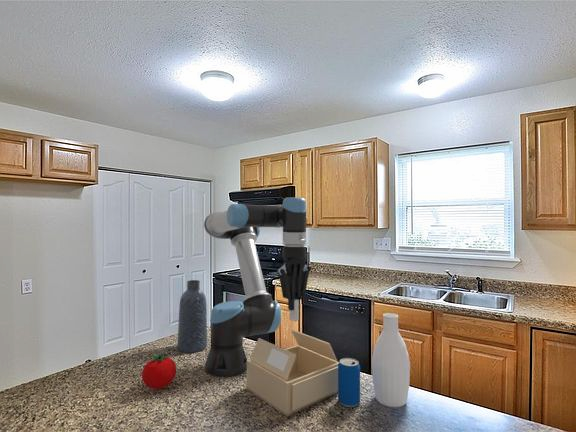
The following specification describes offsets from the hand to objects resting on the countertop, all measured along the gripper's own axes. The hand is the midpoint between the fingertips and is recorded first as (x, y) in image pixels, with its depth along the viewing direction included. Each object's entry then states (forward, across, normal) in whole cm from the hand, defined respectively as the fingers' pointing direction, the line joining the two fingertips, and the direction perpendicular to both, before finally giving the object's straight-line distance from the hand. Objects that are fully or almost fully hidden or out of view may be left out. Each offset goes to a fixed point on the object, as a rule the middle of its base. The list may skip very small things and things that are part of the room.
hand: (294, 319), depth 107 cm
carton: (+22, 0, 0) cm, 22 cm away
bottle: (+23, +19, -23) cm, 37 cm away
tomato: (+22, -32, +29) cm, 49 cm away
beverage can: (+23, +8, -16) cm, 29 cm away
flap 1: (+13, -11, 0) cm, 17 cm away
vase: (+22, -9, +55) cm, 60 cm away
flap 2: (+13, +11, 0) cm, 17 cm away
